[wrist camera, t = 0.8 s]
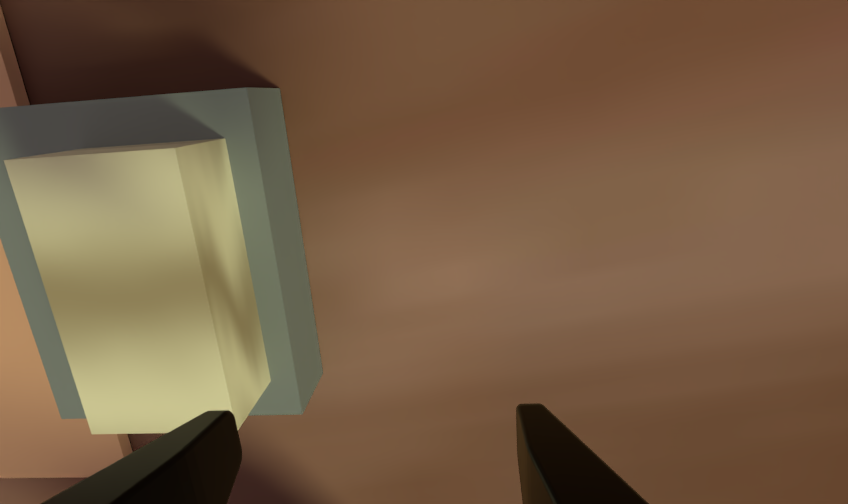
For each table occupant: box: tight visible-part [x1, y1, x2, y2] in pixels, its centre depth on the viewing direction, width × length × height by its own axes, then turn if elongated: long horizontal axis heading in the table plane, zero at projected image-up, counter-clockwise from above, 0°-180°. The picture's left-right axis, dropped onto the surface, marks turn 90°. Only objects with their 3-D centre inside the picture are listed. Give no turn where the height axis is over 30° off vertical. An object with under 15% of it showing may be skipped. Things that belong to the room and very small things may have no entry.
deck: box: [0, 87, 323, 419], centre depth 19 cm, size 12×10×3 cm
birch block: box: [4, 138, 271, 434], centre depth 16 cm, size 9×5×3 cm, turn 4°
